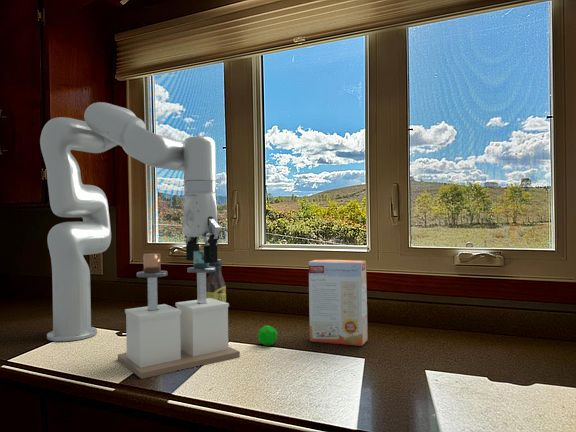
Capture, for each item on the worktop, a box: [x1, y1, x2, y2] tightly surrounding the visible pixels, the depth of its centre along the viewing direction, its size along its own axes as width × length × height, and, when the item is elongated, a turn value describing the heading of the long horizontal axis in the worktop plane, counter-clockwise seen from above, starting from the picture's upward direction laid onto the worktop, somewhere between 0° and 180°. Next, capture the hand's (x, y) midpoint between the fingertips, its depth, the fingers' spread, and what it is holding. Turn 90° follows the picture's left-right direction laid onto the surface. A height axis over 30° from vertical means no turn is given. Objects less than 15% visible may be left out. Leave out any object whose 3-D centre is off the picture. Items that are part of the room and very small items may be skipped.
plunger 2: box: [186, 250, 215, 304], centre depth 110 cm, size 7×7×14 cm
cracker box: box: [308, 259, 369, 347], centre depth 119 cm, size 14×6×21 cm, turn 67°
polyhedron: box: [257, 324, 278, 347], centre depth 116 cm, size 5×5×5 cm
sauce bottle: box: [206, 258, 227, 303], centre depth 136 cm, size 7×6×20 cm
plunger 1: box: [136, 253, 169, 311], centre depth 103 cm, size 7×7×14 cm
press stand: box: [117, 298, 241, 380], centre depth 106 cm, size 16×23×12 cm
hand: (201, 261), depth 110 cm, fingers open, 9 cm apart
